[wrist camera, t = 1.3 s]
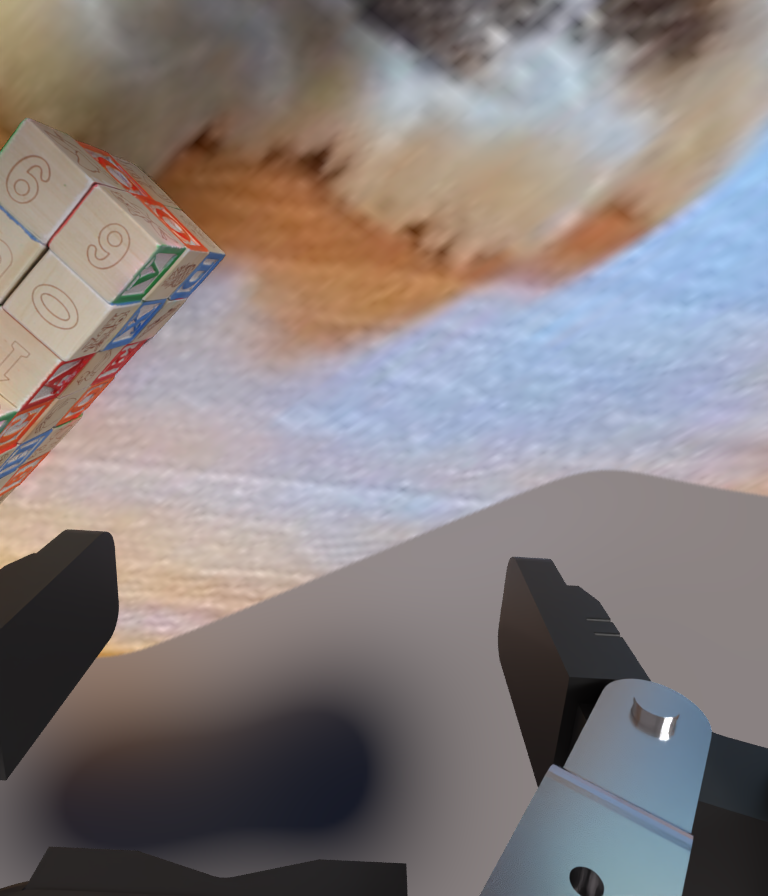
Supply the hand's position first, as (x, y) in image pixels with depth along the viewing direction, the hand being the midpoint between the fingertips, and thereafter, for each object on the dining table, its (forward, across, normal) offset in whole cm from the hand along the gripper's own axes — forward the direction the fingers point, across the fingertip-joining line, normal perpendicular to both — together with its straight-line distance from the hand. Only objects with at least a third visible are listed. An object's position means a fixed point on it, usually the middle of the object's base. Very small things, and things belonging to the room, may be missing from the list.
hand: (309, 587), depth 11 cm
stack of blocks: (+22, +16, 0) cm, 28 cm away
